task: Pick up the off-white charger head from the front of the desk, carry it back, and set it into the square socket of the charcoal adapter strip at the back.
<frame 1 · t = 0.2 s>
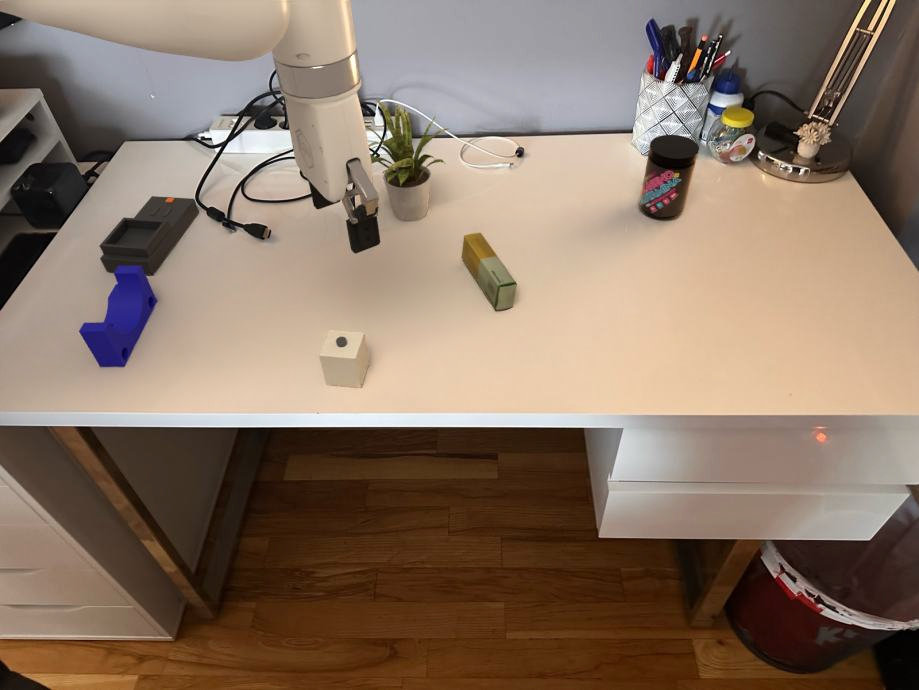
hand: (346, 225, 74), 16 cm above the table, tool pointing down, fingers open, 9 cm apart
charger head: (348, 373, 80), on the table
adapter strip: (155, 240, 99), on the table
medication box: (487, 283, 91), on the table
blue curved cradle bracket: (125, 333, 86), on the table
supplement container: (660, 210, 102), on the table
house plant: (403, 210, 104), on the table
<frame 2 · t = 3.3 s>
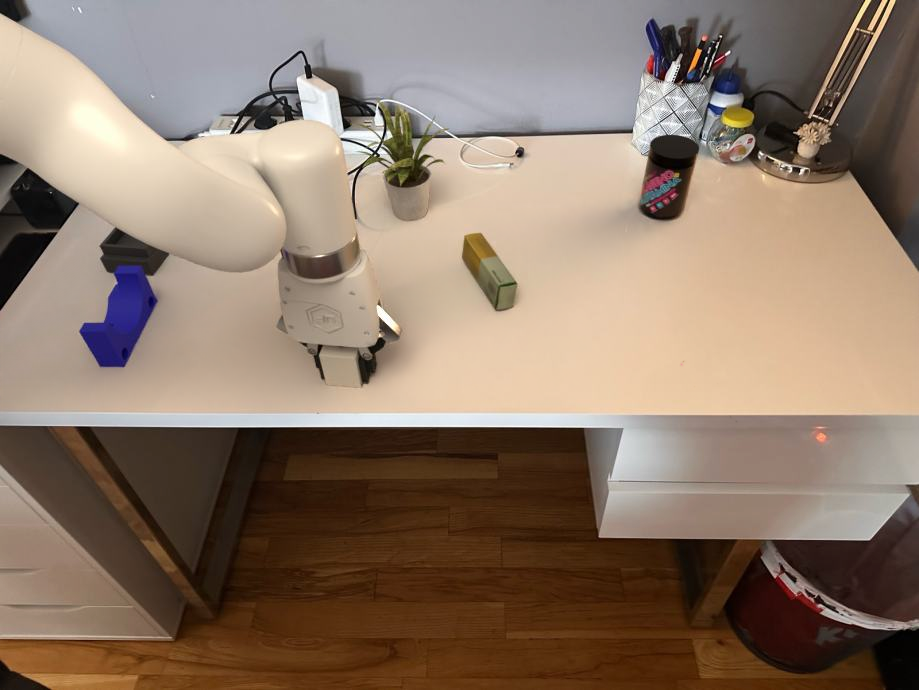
hand: (347, 371, 79), 0 cm above the table, tool pointing down, fingers closed on charger head, 4 cm apart
charger head: (348, 373, 80), on the table, touching gripper
everything else where it was.
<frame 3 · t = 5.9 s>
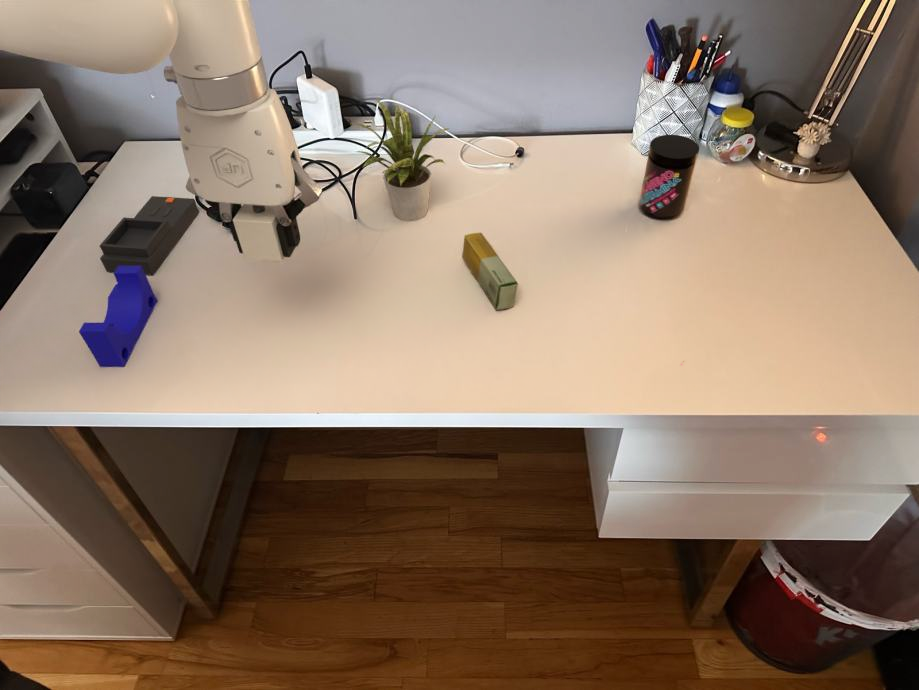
hand: (269, 246, 73), 15 cm above the table, tool pointing down, fingers closed on charger head, 4 cm apart
charger head: (270, 248, 73), point 15 cm above the table, touching gripper
everything else where it was.
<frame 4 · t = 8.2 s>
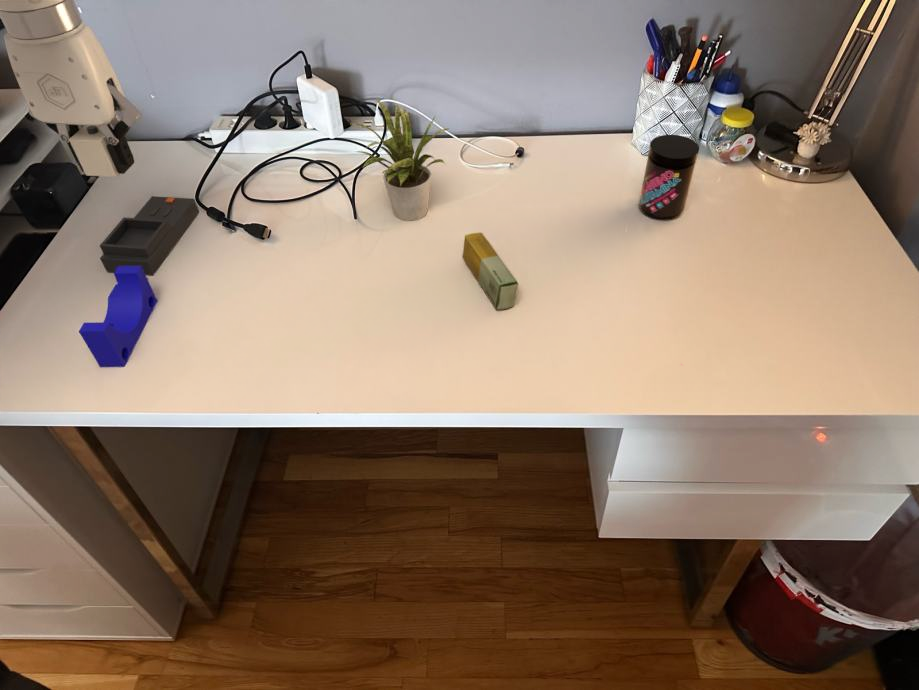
hand: (108, 165, 86), 15 cm above the table, tool pointing down, fingers closed on charger head, 4 cm apart
charger head: (109, 167, 86), point 15 cm above the table, touching gripper
everything else where it was.
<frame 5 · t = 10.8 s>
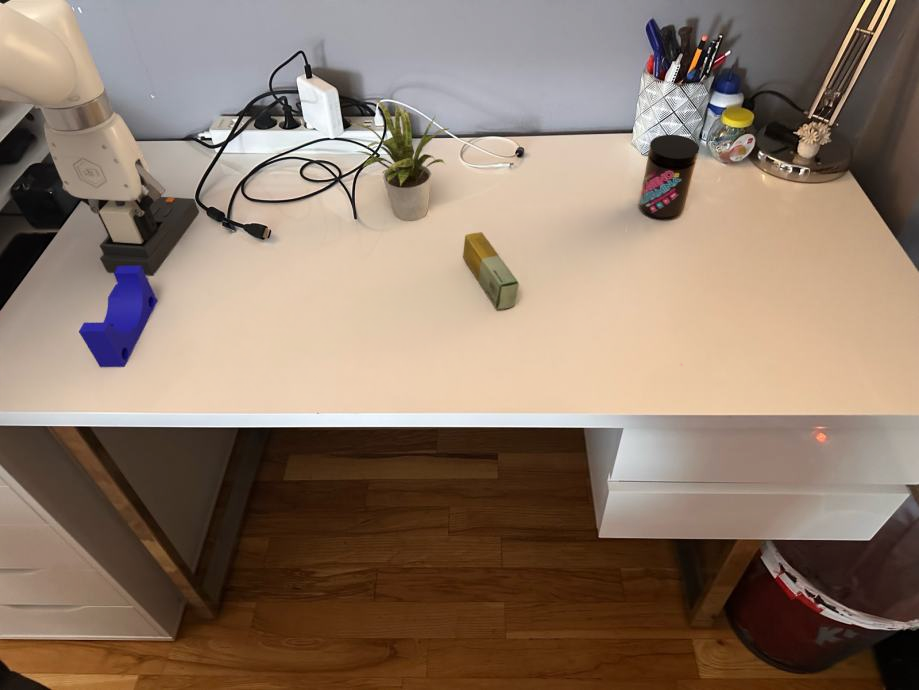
hand: (133, 232, 94), 4 cm above the table, tool pointing down, fingers closed on charger head, 4 cm apart
charger head: (134, 234, 94), point 4 cm above the table, touching gripper
everything else where it was.
when the fingers open (4 cm above the table, at t = 12.9 s): charger head drops 1 cm, resting on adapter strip.
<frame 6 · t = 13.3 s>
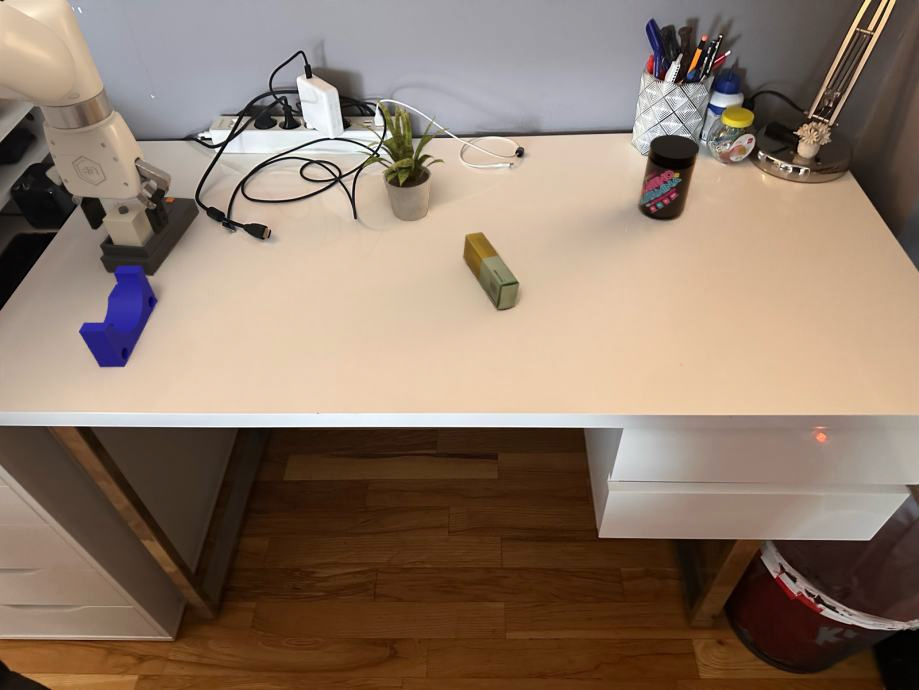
hand: (131, 225, 93), 5 cm above the table, tool pointing down, fingers open, 8 cm apart
charger head: (137, 241, 95), point 2 cm above the table, touching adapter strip
everything else where it was.
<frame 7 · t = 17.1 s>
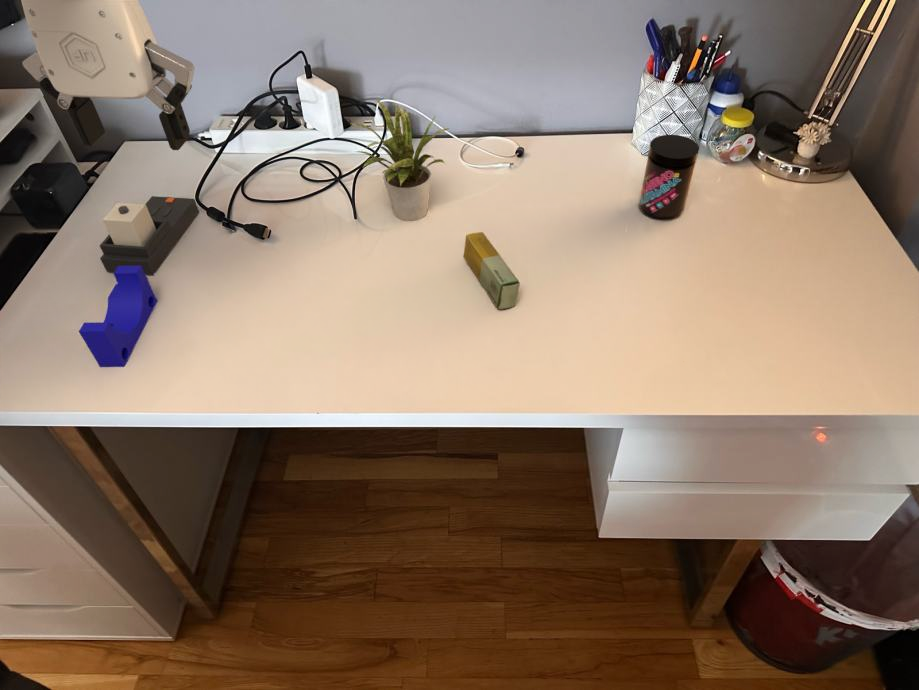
hand: (138, 141, 71), 24 cm above the table, tool pointing down, fingers open, 9 cm apart
nothing on the table moved.
at the end: charger head 0.1 cm from the target spot on the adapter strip, point 2.5 cm above the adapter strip's base; charger head tilted 0°; the gripper is holding nothing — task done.
